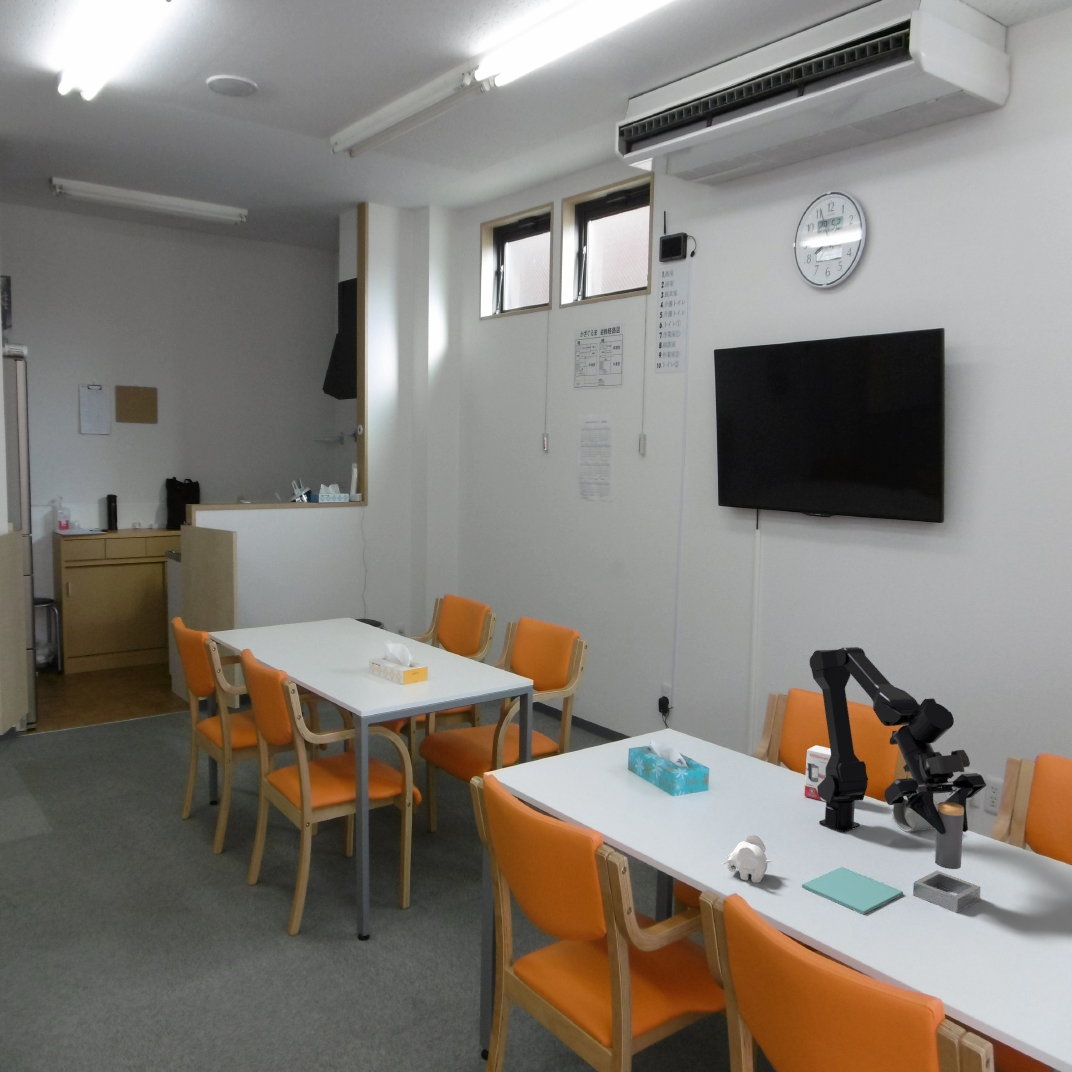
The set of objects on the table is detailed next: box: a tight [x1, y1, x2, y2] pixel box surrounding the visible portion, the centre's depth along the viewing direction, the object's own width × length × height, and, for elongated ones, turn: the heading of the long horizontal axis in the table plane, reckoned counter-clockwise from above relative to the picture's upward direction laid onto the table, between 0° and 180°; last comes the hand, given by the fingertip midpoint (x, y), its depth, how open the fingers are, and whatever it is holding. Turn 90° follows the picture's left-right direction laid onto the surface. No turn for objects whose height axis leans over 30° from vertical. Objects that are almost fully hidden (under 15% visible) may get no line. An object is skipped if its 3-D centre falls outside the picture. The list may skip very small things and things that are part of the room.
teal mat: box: [801, 866, 904, 915], centre depth 171 cm, size 13×13×1 cm
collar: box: [912, 870, 981, 914], centre depth 169 cm, size 8×8×2 cm
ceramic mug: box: [891, 796, 938, 833], centre depth 203 cm, size 10×8×7 cm
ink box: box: [803, 745, 831, 802], centre depth 219 cm, size 9×5×12 cm, turn 50°
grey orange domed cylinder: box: [934, 801, 964, 870], centre depth 168 cm, size 4×4×11 cm
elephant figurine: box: [721, 834, 773, 884], centre depth 176 cm, size 8×10×7 cm
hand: (954, 832), depth 166 cm, fingers closed on grey orange domed cylinder, 4 cm apart
